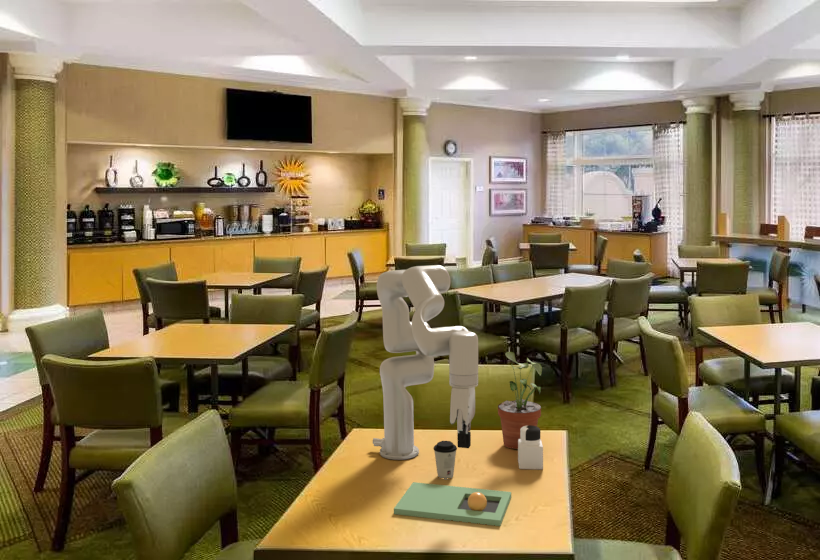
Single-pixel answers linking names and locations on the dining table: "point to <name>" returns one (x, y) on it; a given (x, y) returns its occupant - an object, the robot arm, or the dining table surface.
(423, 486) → the mat
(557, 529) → the dining table surface
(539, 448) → the medicine bottle
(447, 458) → the coffee cup
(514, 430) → the potted plant
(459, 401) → the robot arm
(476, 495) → the orange ball
